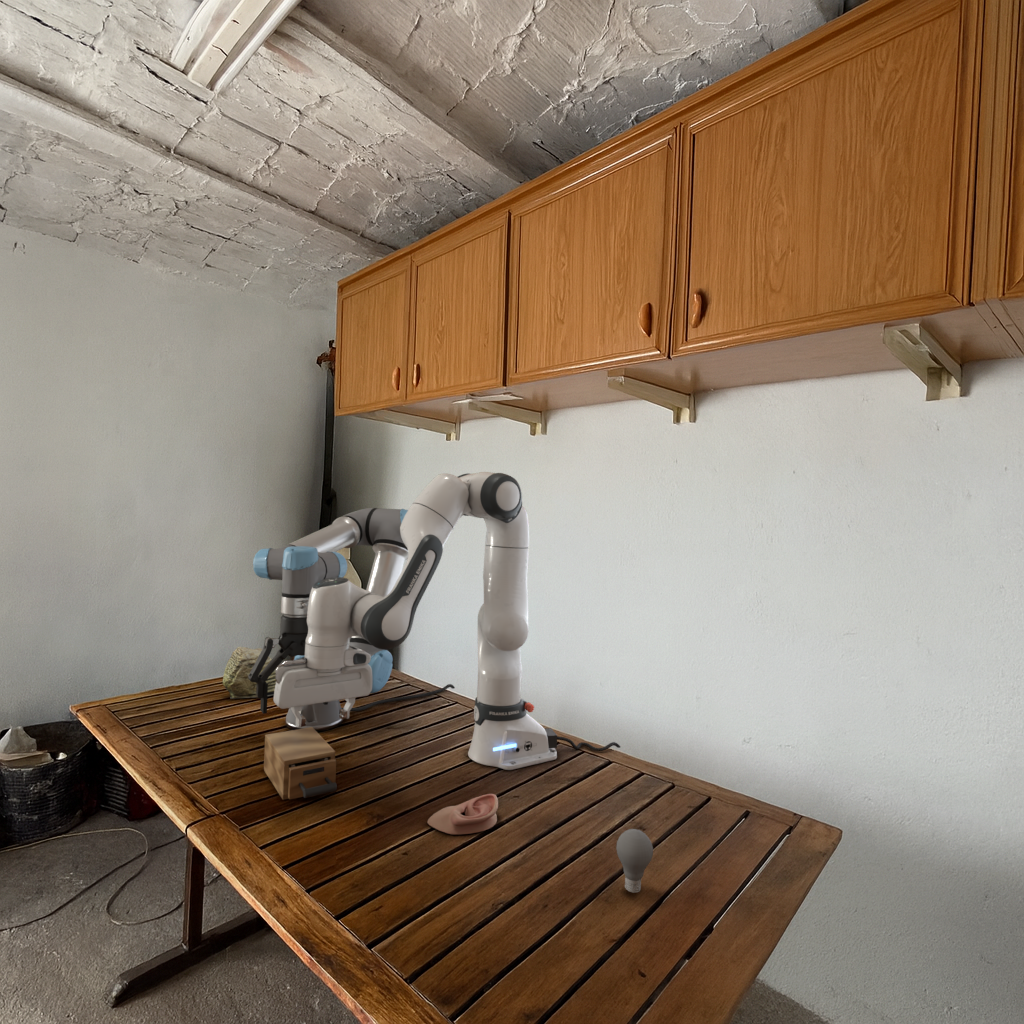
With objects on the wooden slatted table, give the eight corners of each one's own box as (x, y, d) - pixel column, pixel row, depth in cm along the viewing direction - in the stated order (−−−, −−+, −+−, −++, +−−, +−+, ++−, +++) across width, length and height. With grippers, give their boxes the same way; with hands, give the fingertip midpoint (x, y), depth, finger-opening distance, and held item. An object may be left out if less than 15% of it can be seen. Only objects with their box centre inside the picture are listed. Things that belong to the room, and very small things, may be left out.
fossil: (218, 695, 195) (220, 647, 195) (278, 685, 208) (279, 640, 207) (228, 703, 189) (230, 653, 188) (289, 692, 201) (290, 645, 201)
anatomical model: (422, 809, 122) (441, 784, 133) (421, 830, 122) (440, 802, 133) (489, 819, 119) (502, 792, 130) (488, 840, 119) (502, 811, 130)
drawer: (343, 799, 131) (345, 770, 131) (296, 811, 125) (298, 780, 125) (313, 763, 148) (314, 736, 148) (270, 771, 142) (271, 744, 142)
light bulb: (610, 879, 108) (613, 822, 108) (644, 879, 109) (647, 822, 109) (619, 902, 102) (622, 840, 102) (655, 901, 103) (658, 840, 103)
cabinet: (333, 788, 138) (335, 751, 138) (282, 800, 132) (284, 760, 132) (310, 760, 151) (312, 726, 151) (263, 770, 145) (265, 734, 145)
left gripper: (243, 621, 134) (239, 721, 134) (357, 613, 148) (353, 704, 148) (236, 615, 140) (232, 710, 140) (345, 608, 154) (342, 695, 155)
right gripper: (281, 665, 123) (277, 736, 123) (377, 654, 135) (373, 718, 136) (270, 657, 127) (266, 726, 128) (364, 648, 140) (360, 710, 141)
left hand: (294, 707), depth 144 cm, fingers open, 13 cm apart
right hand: (322, 722), depth 132 cm, fingers open, 8 cm apart
